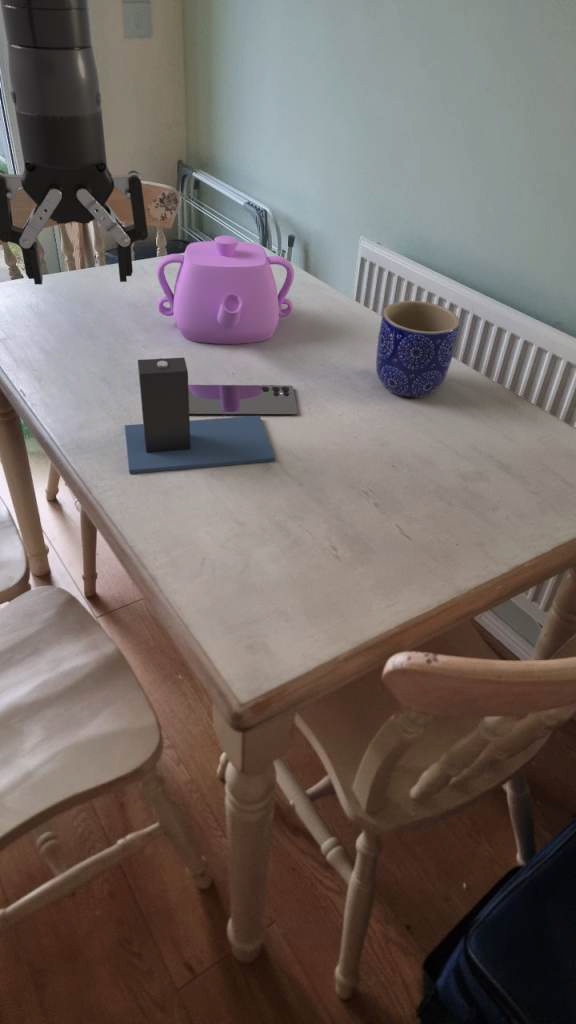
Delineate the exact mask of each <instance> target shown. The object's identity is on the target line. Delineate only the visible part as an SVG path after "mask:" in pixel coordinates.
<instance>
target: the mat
mask: <svg viewBox="0 0 576 1024" xmlns="http://www.w3.org/2000/svg"><path fill="white" fill-rule="evenodd" d="M124 432H125V442H126V452H127V453H126V454H127V460H128V461H127V463H128V473H129V474H130V475H132V474H144V473H154V472H167V471H168V472H169V471H178V470H190V469H200V468H213V467H225V466H234V465H235V466H236V465H245V464H258V463H260V464H261V463H269V462H271V463H272V462H275V461H276V457H275V454H274V451H273V447H272V446H271V443H270V440H269V437H268V435H267V432H266V429H265V426H264V424H263V421H262V419H261V416H260V415H249V416H248V415H247V416H234V417H219V418H207V419H195V420H194V419H193V420H190V446H191V449H188V450H176V451H164V452H151V453H146V446H145V438H144V427H143V423H137V424H126V425H124Z"/></svg>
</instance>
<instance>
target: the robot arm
mask: <svg viewBox="0 0 576 1024" xmlns="http://www.w3.org/2000/svg"><path fill="white" fill-rule="evenodd" d="M0 8H1V13H2V19H3V25H4V32H5V38H6V45H7V56H8V73H9V80H10V88H11V89H10V94H11V98H12V99H11V100H12V103H13V105H14V110H15V116H16V124H17V129H18V136H19V140H20V147H21V154H22V159H23V166H24V167H23V173H22V174H14V173H6V172H5V171H3V170H1V169H0V241H1V242H3V243H12V244H15V245H17V246H18V247H19V248H20V250H21V253H22V258H23V259H22V260H23V264H24V270H25V275H26V277H27V278H28V279H29V280H33V283H34V285H43V276H44V275H43V270H42V264H41V259H40V252H39V245H38V242H37V241H36V239H37V238H38V236H39V234H40V233H41V232H42V231H43V230H44V228H45V226H46V225H47V223H48V221H49V220H51V221H53V222H55V223H56V224H57V225H58V224H59V225H61V224H68V223H72V222H74V223H78V224H90V223H91V222H92V221H94V220H96V221H97V222H98V223H99V224H100V225H101V227H102V228H103V229H104V230H105V231H106V232H108V233H109V234H110V235H111V237H112V238H113V239H114V240H115V244H116V245H115V246H116V251H117V252H116V253H117V254H116V255H117V264H118V274H119V282H120V283H127V282H128V279H127V277H132V275H133V273H134V271H133V259H132V245H133V244H134V243H135V242H138V241H145V240H146V239H148V236H149V231H148V224H147V223H148V222H147V217H146V209H145V200H144V194H143V193H144V192H143V185H142V179H141V176H140V173H139V172H138V171H136V170H130V171H129V172H128V174H114V175H113V174H111V172H110V170H109V168H108V163H107V151H106V141H105V129H104V121H103V111H102V95H101V89H100V80H99V73H98V68H97V64H96V60H95V53H94V48H93V40H92V39H93V38H92V29H91V18H90V9H89V0H0ZM20 189H22V190H23V191H24V192H25V194H27V196H28V197H29V198H30V199H31V200H32V201H33V203H34V204H35V206H34V207H33V209H32V211H31V213H30V215H29V217H28V219H27V220H26V222H25V224H24V225H23V226H22V227H21V226H20V227H19V226H16V225H14V223H13V214H12V206H11V205H12V204H11V201H12V200H15V198H16V197H17V192H18V190H20ZM114 189H117V190H119V192H120V193H121V196H122V197H123V198H124V199H125V200H128V201H129V200H130V205H131V212H132V220H133V223H132V224H130V225H127V226H126V225H125V224H124V223H123V222H122V221H121V220H120V218H118V216H117V215H116V213H115V212H114V210H113V209H112V208H111V207H110V205H109V204H108V203H107V201H109V198H110V197H111V195H112V193H113V192H114Z"/></svg>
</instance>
